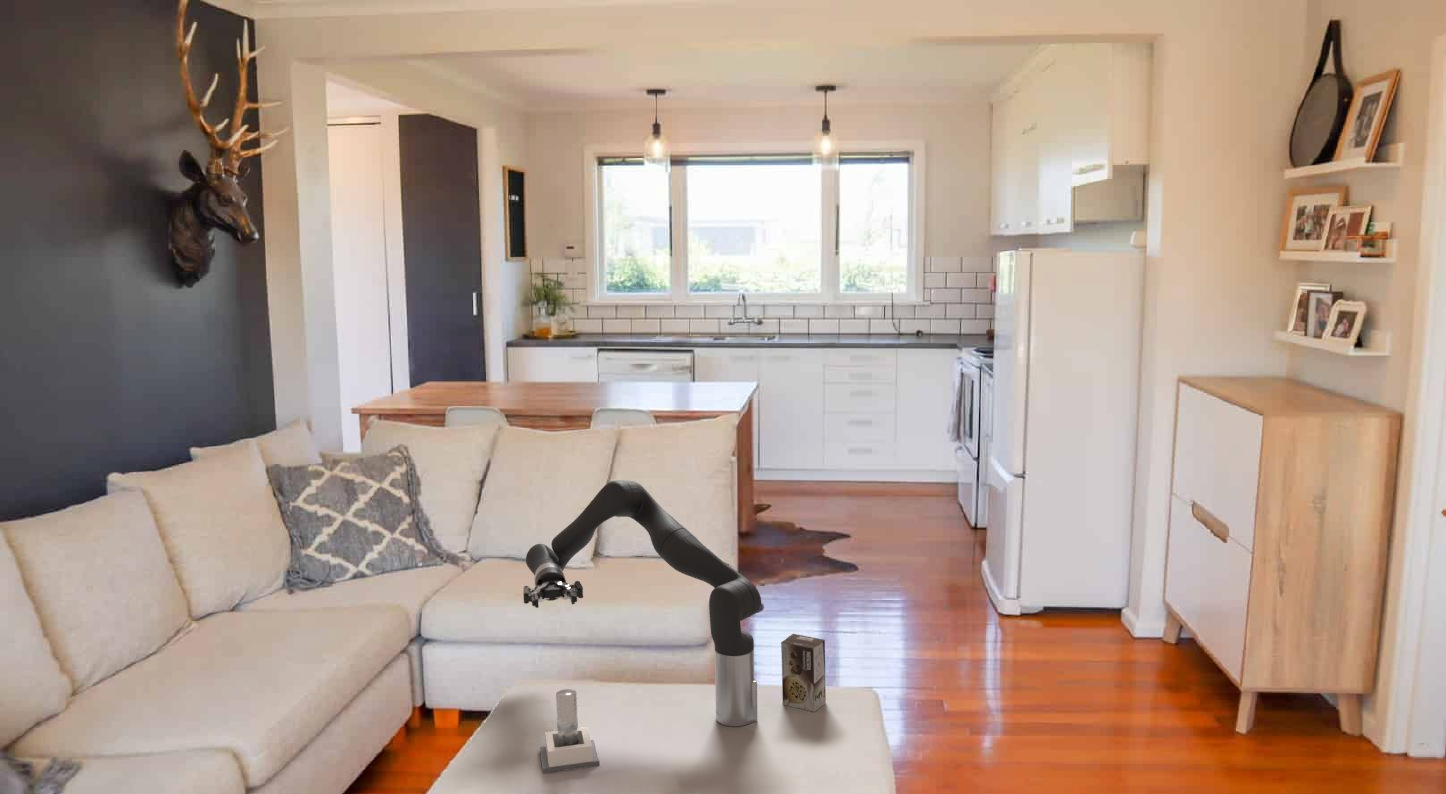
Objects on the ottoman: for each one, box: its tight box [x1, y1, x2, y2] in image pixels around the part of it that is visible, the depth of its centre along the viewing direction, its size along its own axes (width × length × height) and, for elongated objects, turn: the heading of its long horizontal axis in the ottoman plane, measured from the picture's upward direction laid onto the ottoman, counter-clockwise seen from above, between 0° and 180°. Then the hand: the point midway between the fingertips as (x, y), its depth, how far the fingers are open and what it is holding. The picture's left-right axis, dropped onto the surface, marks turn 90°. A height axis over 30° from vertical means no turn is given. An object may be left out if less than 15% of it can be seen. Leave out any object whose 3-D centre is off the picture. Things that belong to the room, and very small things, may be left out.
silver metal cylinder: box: [555, 688, 579, 747], centre depth 224 cm, size 4×4×14 cm
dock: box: [539, 726, 600, 774], centre depth 225 cm, size 12×10×4 cm
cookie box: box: [780, 633, 827, 713], centre depth 249 cm, size 9×6×16 cm
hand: (555, 601), depth 243 cm, fingers open, 8 cm apart
